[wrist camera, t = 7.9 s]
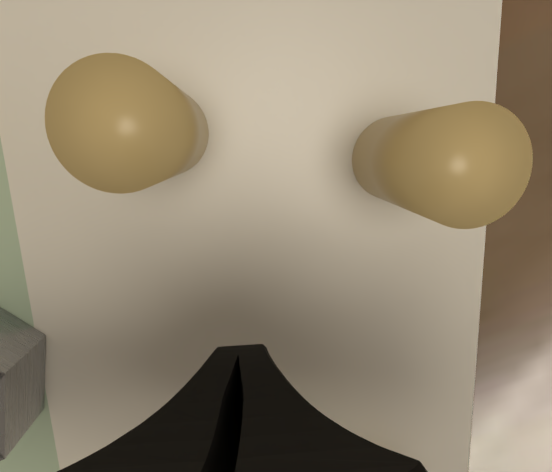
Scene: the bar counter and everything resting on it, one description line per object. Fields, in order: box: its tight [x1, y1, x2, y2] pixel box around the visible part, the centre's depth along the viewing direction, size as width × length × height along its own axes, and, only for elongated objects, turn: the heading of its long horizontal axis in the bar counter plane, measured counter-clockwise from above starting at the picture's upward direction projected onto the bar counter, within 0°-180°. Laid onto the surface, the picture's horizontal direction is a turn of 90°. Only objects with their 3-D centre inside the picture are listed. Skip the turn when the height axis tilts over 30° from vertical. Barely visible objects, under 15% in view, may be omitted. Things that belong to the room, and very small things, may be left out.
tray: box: [0, 0, 533, 472], centre depth 11 cm, size 18×20×6 cm
